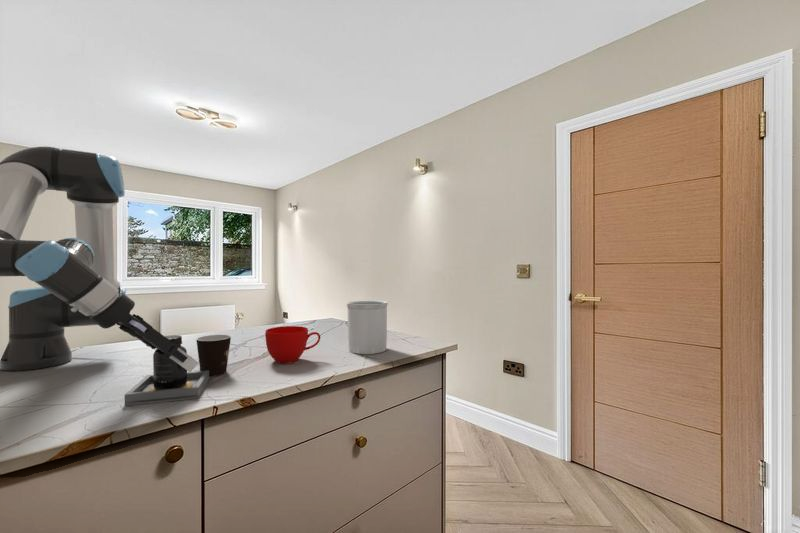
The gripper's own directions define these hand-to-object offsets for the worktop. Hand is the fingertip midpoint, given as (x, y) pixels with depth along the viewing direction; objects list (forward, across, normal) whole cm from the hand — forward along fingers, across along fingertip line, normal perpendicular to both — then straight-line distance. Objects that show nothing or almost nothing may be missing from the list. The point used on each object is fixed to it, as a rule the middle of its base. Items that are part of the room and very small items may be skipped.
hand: (187, 364), depth 88 cm
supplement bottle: (+1, 0, -6) cm, 6 cm away
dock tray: (+2, 0, -7) cm, 7 cm away
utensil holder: (+45, +6, +36) cm, 58 cm away
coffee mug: (+12, -8, +3) cm, 15 cm away
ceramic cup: (+27, -2, +18) cm, 32 cm away
